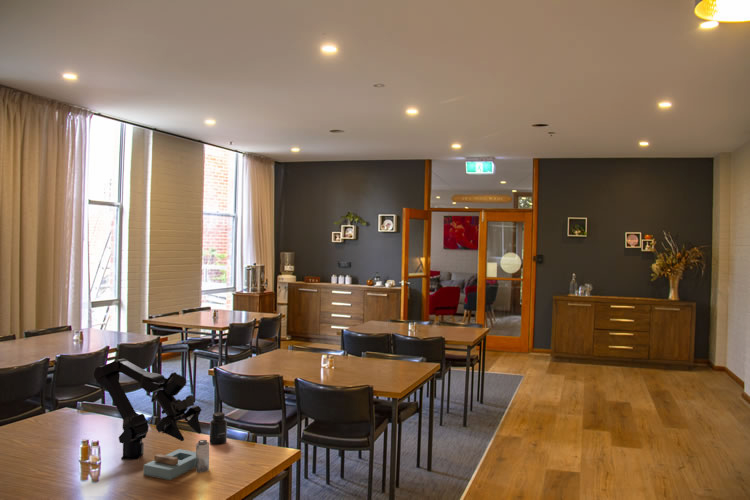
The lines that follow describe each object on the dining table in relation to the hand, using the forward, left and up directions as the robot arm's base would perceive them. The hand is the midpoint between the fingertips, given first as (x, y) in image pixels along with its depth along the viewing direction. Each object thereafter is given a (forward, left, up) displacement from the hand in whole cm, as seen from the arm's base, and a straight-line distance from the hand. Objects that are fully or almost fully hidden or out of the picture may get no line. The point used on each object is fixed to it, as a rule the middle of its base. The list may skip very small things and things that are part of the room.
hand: (192, 436), depth 207 cm
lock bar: (-8, -4, -8) cm, 12 cm away
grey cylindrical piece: (+4, -2, -11) cm, 13 cm away
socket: (-6, 0, -11) cm, 13 cm away
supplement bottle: (+5, +28, -12) cm, 30 cm away
